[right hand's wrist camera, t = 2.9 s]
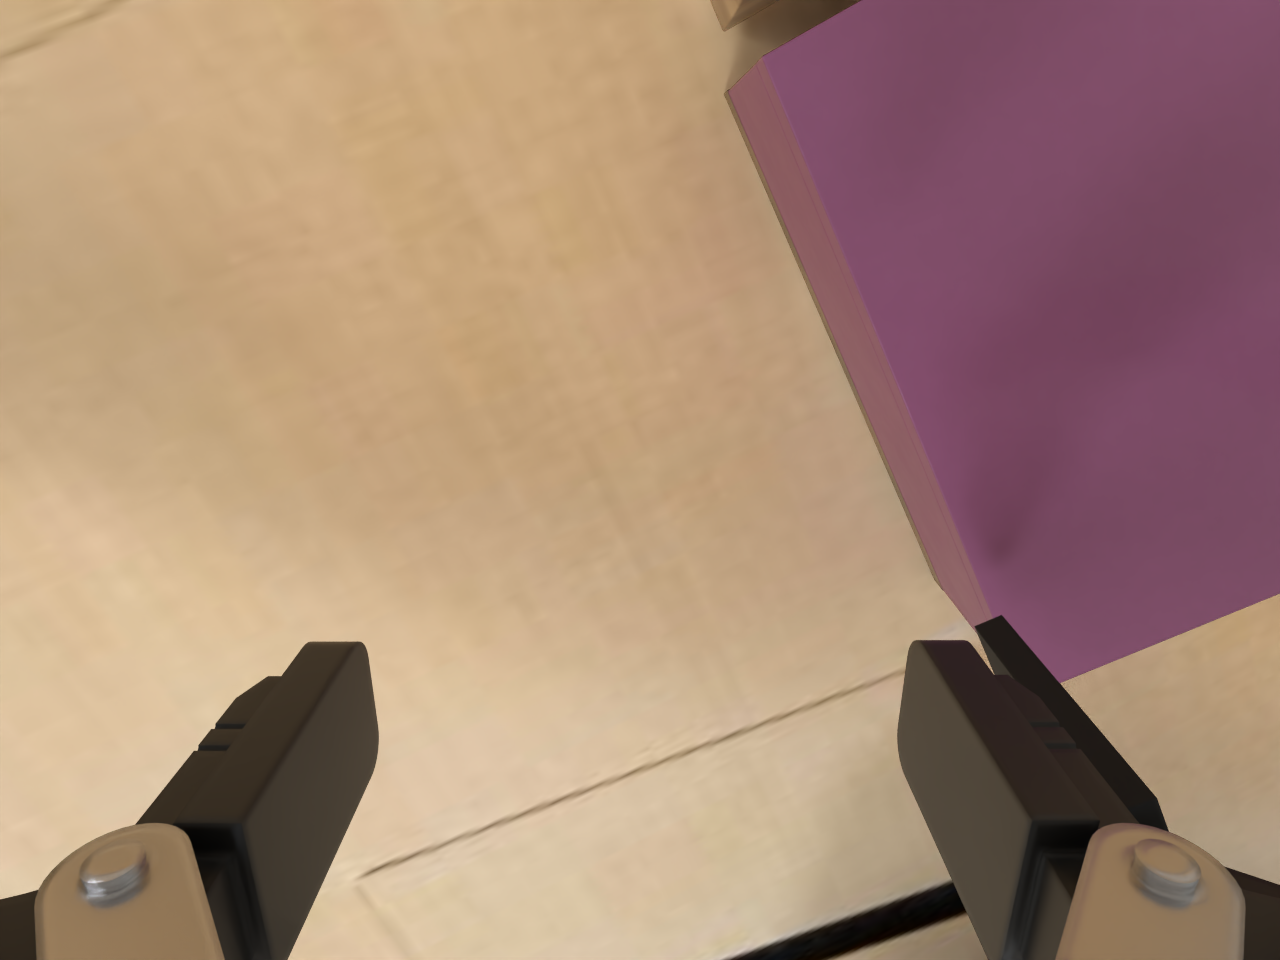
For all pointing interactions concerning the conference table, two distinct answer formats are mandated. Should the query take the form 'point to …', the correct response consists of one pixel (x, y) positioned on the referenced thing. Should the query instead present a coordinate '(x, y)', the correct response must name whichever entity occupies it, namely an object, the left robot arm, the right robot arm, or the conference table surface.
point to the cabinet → (1050, 293)
